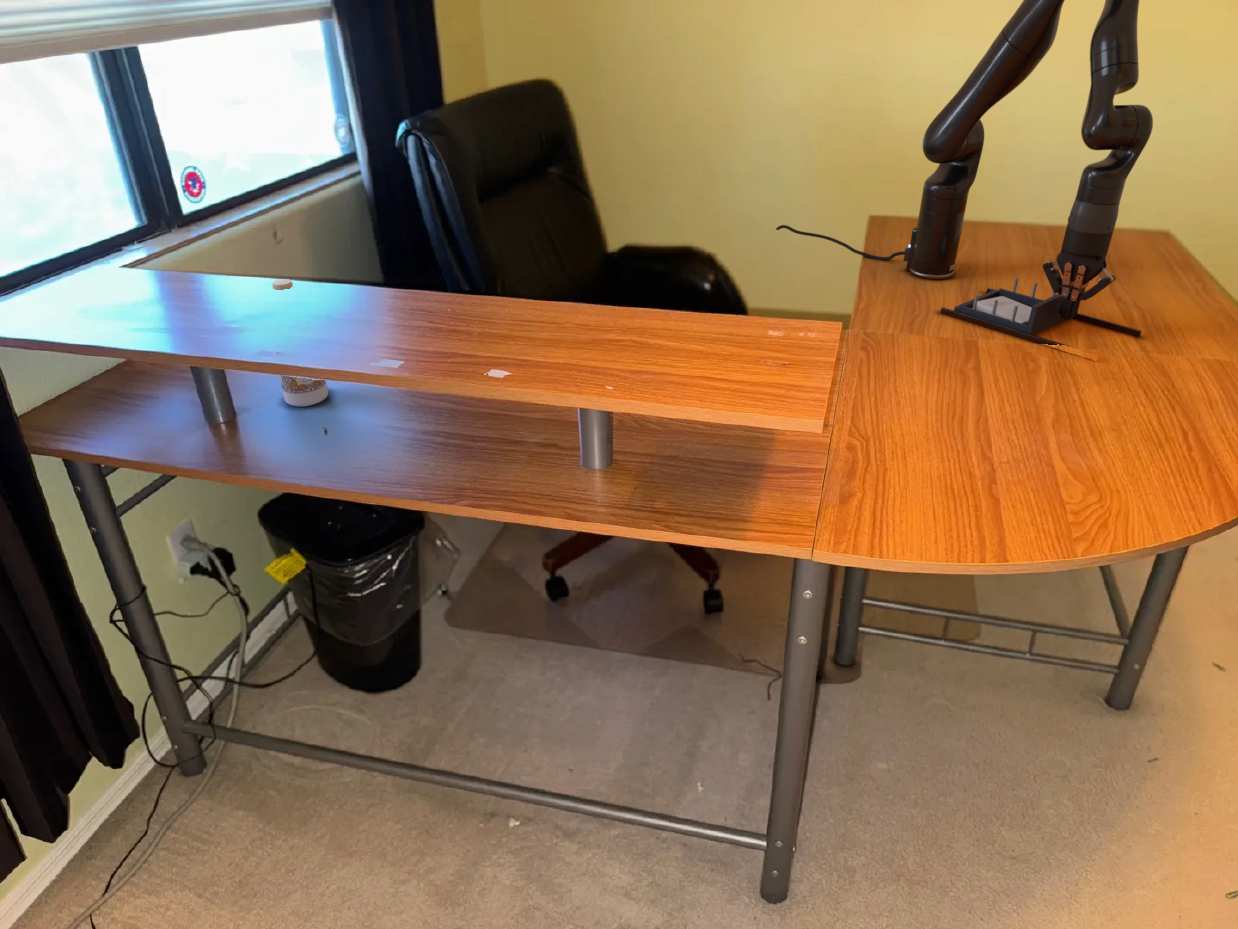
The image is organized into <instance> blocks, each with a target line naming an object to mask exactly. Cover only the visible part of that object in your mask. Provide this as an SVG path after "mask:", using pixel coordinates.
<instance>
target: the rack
mask: <svg viewBox="0 0 1238 929" xmlns="http://www.w3.org/2000/svg"><path fill="white" fill-rule="evenodd" d="M1018 282H1019V277H1015V278H1014V282H1013V286H1012V290H1008V289H1005V288H998V289H994V290H993V291H991V292H989V293H984V294H981V295H979V294H975V296H974V298H972V299H969V300H968V301H965V302H963V303H961V304H959V305H956V306H954V308H953V310H954V311H957V312H960V313H964V314H967V315H970V316H973V317H977V318H980V319H983V320H987V321H990V322H993V323H996V324H1000V325H1003V326H1006V327H1009V328H1013V329H1016V330H1019V331H1022V332H1026V333H1029V334H1032V335H1036V336H1037V335H1038V334H1040V333H1042V332H1044V331H1046V330H1048V329H1050V328H1052V327H1054V326H1056V325H1058V324H1060V323H1062V322H1065V320H1067V319H1064V318H1061V317H1060V316H1061V314H1059V308H1060V304H1061V300H1062V297H1061V295H1060V294H1058V293H1054V292H1053V291H1052V293H1051V296H1050V297H1048V298H1046V299H1041V298H1036V296H1035V295H1036V292H1037V287H1038V282H1034V283H1033V286H1032V291H1031V293H1030V294H1031V295H1030V296H1029V295H1027V294H1022V293H1019V292H1016V291H1017V287H1018ZM1000 296H1004V297H1007V298H1009V299H1011V300H1014V301H1016V302H1019V303H1022V304H1024V305H1027V306H1029V307H1032V309H1031V313H1030V317H1029V321H1028V325H1025V324H1022V323H1018V322H1015V317H1016V313H1017V308H1018V306H1014V310H1013V315H1012V319H1011V320H1008V319H1005V318H1002V317H998V316H995V312H996V308H997V303H998V300H995V301H994V306H993V310H992V314H988V313H985V312H982V311H978V310H976V306H977V302H978V301H981V300H986V299H991V298H995V297H1000ZM973 303H974V305H973ZM972 307H973V308H972Z"/></svg>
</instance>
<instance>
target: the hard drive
mask: <svg viewBox="0 0 1238 929" xmlns="http://www.w3.org/2000/svg"><path fill="white" fill-rule="evenodd" d="M995 300H998V303H997V308H996V312H995V316H998V317H1002V318H1005V319H1008V320H1011V319H1012V315H1013V310H1014V306H1018V308H1017V313H1016V317H1015V322H1018V323H1022V324H1025V325H1028V321H1029V317H1030V313H1031V309H1032V307H1029V306H1027V305H1024V304H1022V303H1019V302H1016V301H1014V300H1011V299H1009V298H1007V297H1004V296H1000V297H995V298H991V299H986V300H981V301H978V302H977V306H976V310H978V311H982V312H985V313H988V314H992V310H993V306H994V301H995ZM973 305H974V303H973ZM972 308H973V307H972Z"/></svg>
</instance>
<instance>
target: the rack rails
mask: <svg viewBox="0 0 1238 929" xmlns="http://www.w3.org/2000/svg"><path fill="white" fill-rule="evenodd" d="M993 290H995V288H990V287H987V288H986V293H989V292H991V291H993ZM986 293H985V294H986ZM939 312H940V314H941V315H944V316H947V317H951V318H954V319H957V320H961V321H962V322H967V323H970V324H973V325H976V326H979V327H982V328H986V329H989V330H992V331H996V332H999V333H1002V334H1006V335H1009V336H1012V337H1015V338H1018V339H1021V340H1025V341H1028V342H1031V343H1034V344H1036V345H1037V344H1038V345H1040V344H1048V345H1057V344H1059V345H1060V346H1061V345H1066V344H1065V343H1061V342H1058V341H1055V340H1051V339H1049V338H1045V337H1041V336H1038V335H1037V334H1036V335H1032V334H1029V333H1026V332H1022V331H1019V330H1016V329H1013V328H1009V327H1006V326H1003V325H1000V324H996V323H993V322H990V321H987V320H983V319H980V318H977V317H973V316H970V315H967V314H964V313H960V312H957V311H954V309H951V308H947V307H944V306H943V307H941V308H940V311H939ZM1071 319H1072V320H1076V321H1080V322H1084V323H1087V324H1090V325H1094V326H1098V327H1101V328H1104V329H1108V330H1110V331H1111V330H1112V331H1115V332H1119V333H1122V334H1126V335H1129V336H1133V337H1136V338H1140V337H1141V333H1142V329H1137V328H1134V327H1131V326H1127V325H1122V324H1119V323H1117V322H1116V323H1115V322H1113V321H1110V320H1105V319H1101V318H1097V317H1094V316H1090V315H1087V314H1084V313H1080V312H1077V314H1076V316H1074V317H1072V318H1071Z"/></svg>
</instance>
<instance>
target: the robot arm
mask: <svg viewBox="0 0 1238 929" xmlns="http://www.w3.org/2000/svg"><path fill="white" fill-rule="evenodd" d="M1065 1H1066V0H1022V2H1021V3H1020V5H1019V6H1018V7H1017V9H1016V10H1015V11H1014V13H1013V15H1012V16H1011V17H1010V18H1009V20H1008V21H1007V22H1006V23H1005V25H1004V26H1003V28H1002V29H1001V30H1000V32H999V33H998V34H997V36H996V37H995V39H994V40H993V42H992V43H991V45H990V46H989V48H988V49H987V51H986V52H985V54H984V55H983V56H982V58H981V59H980V60H979V62H978V63H977V64H976V66H975V67H974V69H973V70H972V72H971V73H970V74H969V76H968V77H967V78H966V80H965V81H964V83H963V84H962V85H961V87H960V88H959V89H958V91H957V92H956V93H955V94H954V96H953V97H952V98H951V99H950V100H949V102H948V103H947V104H946V105H945V106H944V107H943V108H942V109H941V110H940V112H938V114H937V115H935V117H934V118H933V119H932V121H931V122H930V123H929V125H928V126H927V128H926V130H925V132H924V134H923V139H922V153H923V154H924V157H925V158H926V160H928V161H930V162H931V163H934V164H938V166H937V168H936V169H935V170H934V172H933V173H931V175H929V176H928V177H927V178H926V179H925V180H924V182H923V188H922V194H921V200H920V206H919V212H918V220H917V224H916V227H913V229H912V230H911V235H910V242H909V244H908V247H906V248H905V249H904V251H897V252H893V253H892V254H891V255H889V256H877V255H874V254H869V253H867V252H863V251H861V250H857V249H855V248H853V247H852V246H851V245H849V244H847V243H845V242H843V241H840V240H839V239H836V238H834V237H830V236H827V235H824V234H819V233H813V232H807V231H801V230H797V229H795V228H793V227H791V226H789V225H786V224H782V225H779V226H777V227H776V228H775V230H776V231H779V230H781V229H786V230H788V231H790V232H792V233H794V234H798V235H800V236H801V235H802V236H809V237H814V238H819V239H824V240H827V241H830V242H833V243H835V244H838V245H839V246H842V247H844V248H846V249H847V250H849V251H850V252H851V253H854V254H856V255H859V256H862V257H865V258H869V259H871V260H878V261H890V260H892V259H894V258H895V257H897V256H902V255H903V261H904V262H906V268H905V271H906V272H908V273H910V274H911V275H912V276H915V277H918V278H920V279H921V278H922V279H927V280H947V279H951V278H952V277H954V274H955V269H956V268H957V263H956V261H957V258H958V252H959V246H960V241H961V236H962V231H963V230H962V229H963V225H964V220H965V215H966V210H967V209H966V208H967V203H968V199H969V193H970V190H971V188H972V186H973V184H974V183H975V180H976V178H977V175H978V170H979V166H980V162H981V158H982V154H983V150H984V144H985V127H984V124H983V122H982V120H981V118H982V117H983V116H984V115H985V114H986V113H987V112H988V111H989V110H991V109H992V108H993V107H994V106H995V105H997V103H999V102H1000V101H1001V100H1003V99H1004V98H1006V97H1007V96H1008V95H1009V94H1010V93H1012V92H1013V91H1014V90H1015V89H1017V88H1018V87H1019V86H1020V85H1022V83H1023V82H1024V81H1025V80H1027V79H1028V78H1029V76H1030V75H1032V73H1033V72H1034V71H1035V69H1036V68H1037V67H1038V66H1039V65H1040V63H1041V62H1042V60H1043V59H1045V56H1047V54H1048V53H1049V51H1050V50H1051V48H1052V47H1053V45H1054V42H1055V39H1056V37H1057V33H1058V30H1059V24H1060V19H1061V14H1062V9H1063V6H1064V3H1065ZM1139 6H1140V0H1105V1H1104V6H1103V8H1102V11H1101V13H1100V16H1099V18H1098V20H1097V22H1096V24H1095V28H1094V30H1093V31H1092V35H1091V39H1090V45H1089V71H1090V72H1089V74H1090V88H1089V92H1088V97H1087V101H1086V106H1085V111H1084V114H1083V118H1082V123H1081V126H1080V127H1081V128H1080V135H1081V140H1082V142H1083V144H1084V145H1085V146H1086V148H1088V149H1090V150H1092V151H1110V152H1109V153H1108V154H1107V155H1106V157H1105V158H1103V159H1102V160H1099V161H1096V162H1092V163H1089V164H1088V165H1086V166H1085V167H1084V168H1083V169H1082V172H1081V176H1080V179H1079V183H1078V187H1077V191H1076V195H1075V198H1074V201H1073V203H1072V206H1071V209H1070V213H1069V215H1068V218H1067V224H1066V228H1065V232H1064V236H1063V240H1062V244H1061V250H1060V252H1058V254H1057V255H1056V258H1055V259H1053V260H1050V261H1047V262H1045V263H1043V264H1042V269H1043V271H1044V273H1045V276H1046V278H1047V280H1048V283H1049V285H1050V288H1051V289H1052V293H1053V292H1054V293H1056V294H1060V295H1061V297H1062V300H1061V304H1060V308H1059V314H1061V316H1060V317H1061V318H1064V319H1066V320H1068V321H1069V320H1071V319H1073V318H1072V317H1074V316H1076V314H1077V313H1079V308H1080V305H1081V301H1087V300H1089V299H1091V298H1093V297H1094V296H1095V295H1098V294H1099V293H1100V292H1101V291H1103V290H1105V288H1107V287H1108V286H1110V285H1111V284H1112V283H1115V281H1116V279H1117V277H1116V275H1114V274H1110V273H1109V271H1108V270H1107V260H1106V259H1107V255H1108V252H1109V249H1110V246H1111V241H1112V238H1113V234H1114V231H1115V227H1116V223H1117V221H1118V216H1119V210H1120V204H1121V200H1122V196H1123V193H1124V189H1125V185H1126V182H1127V179H1128V177H1129V176H1130V174H1131V172H1132V170H1133V168H1134V166H1135V164H1136V162H1137V161H1138V159H1139V158H1140V156H1141V154H1142V153H1143V151H1144V149H1145V147H1146V146H1147V145H1148V141H1149V140H1150V138H1151V134H1152V132H1153V127H1154V118H1153V113H1152V112H1151V110H1150V109H1149V108H1148V106H1145V105H1142V104H1114V99H1115V96H1118V95H1122V94H1124V93H1127V92H1128V91H1131V90H1132V89H1134V88H1135V87H1136V86H1137V84H1138V82H1139V76H1140V73H1139V72H1140V71H1139V70H1140V69H1139V47H1138V46H1139V45H1138V18H1139ZM1096 277H1097V279H1096V282H1097V283H1095V285H1092V287H1090V288H1089V289H1087V287H1088V286H1089V284H1090V282H1091V281H1093V279H1095V278H1096ZM1086 289H1087V290H1086Z"/></svg>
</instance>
